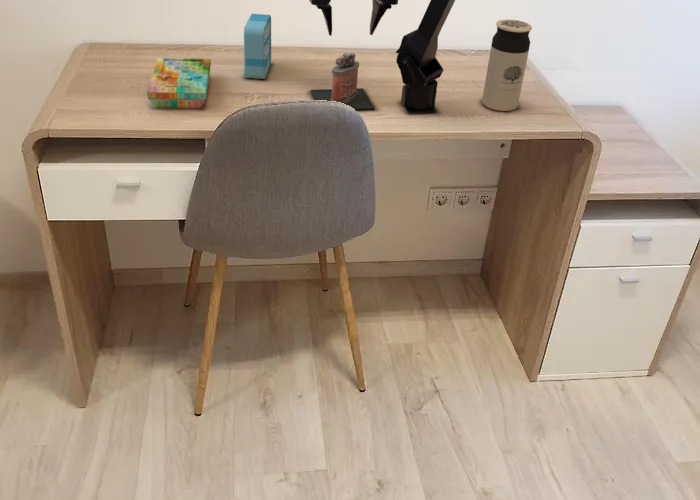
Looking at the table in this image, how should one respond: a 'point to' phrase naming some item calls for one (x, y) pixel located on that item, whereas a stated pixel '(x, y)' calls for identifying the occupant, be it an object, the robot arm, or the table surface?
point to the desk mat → (357, 103)
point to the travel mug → (506, 65)
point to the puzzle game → (179, 82)
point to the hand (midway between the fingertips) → (350, 34)
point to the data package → (257, 46)
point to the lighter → (345, 78)
